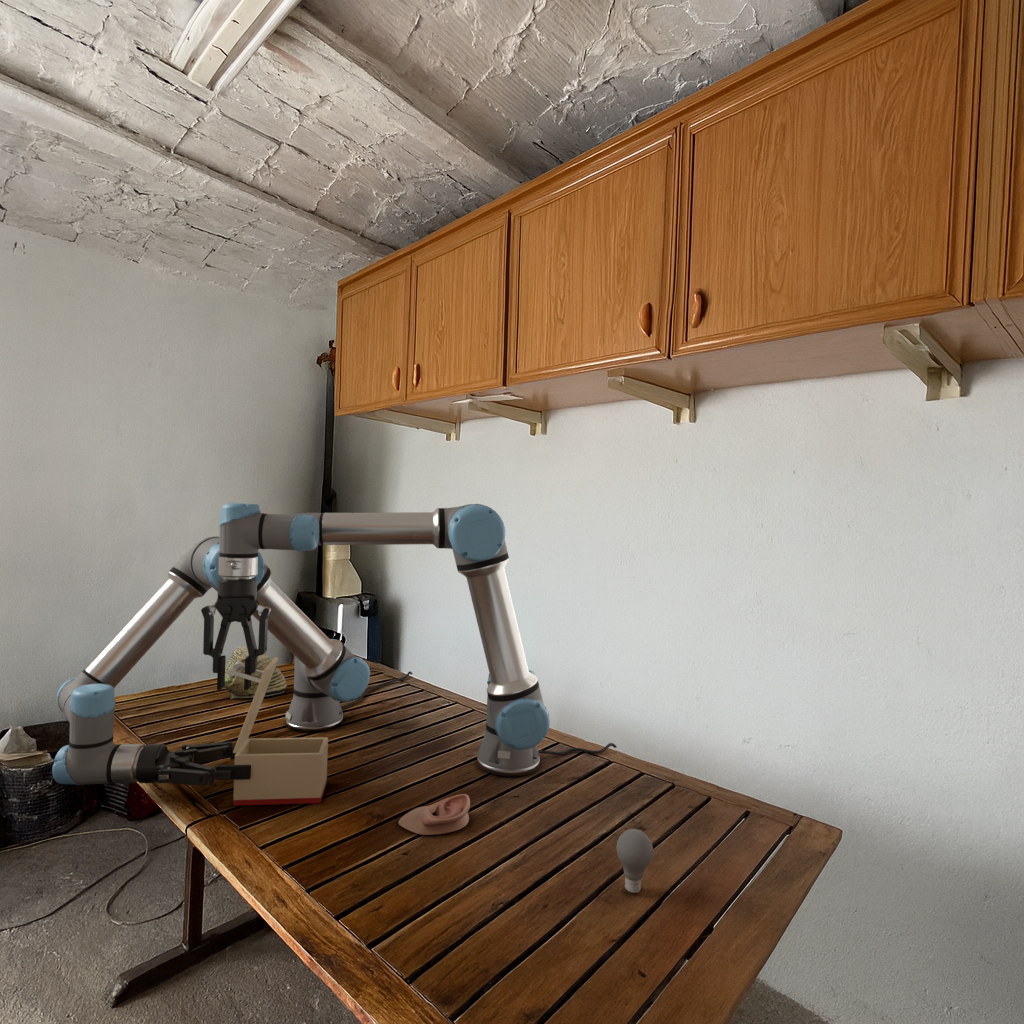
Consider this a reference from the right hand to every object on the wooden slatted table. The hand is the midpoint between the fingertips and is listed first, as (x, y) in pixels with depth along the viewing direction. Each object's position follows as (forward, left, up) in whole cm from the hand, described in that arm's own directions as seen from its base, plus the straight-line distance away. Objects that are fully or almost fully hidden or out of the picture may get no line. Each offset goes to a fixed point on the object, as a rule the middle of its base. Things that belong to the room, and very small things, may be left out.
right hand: (234, 687), depth 132 cm
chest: (-10, +3, -23) cm, 25 cm away
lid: (-5, +1, -3) cm, 6 cm away
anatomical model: (-37, +24, -23) cm, 50 cm away
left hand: (-5, +1, -16) cm, 16 cm away
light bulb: (-62, +56, -23) cm, 87 cm away
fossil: (-6, -68, -23) cm, 72 cm away
